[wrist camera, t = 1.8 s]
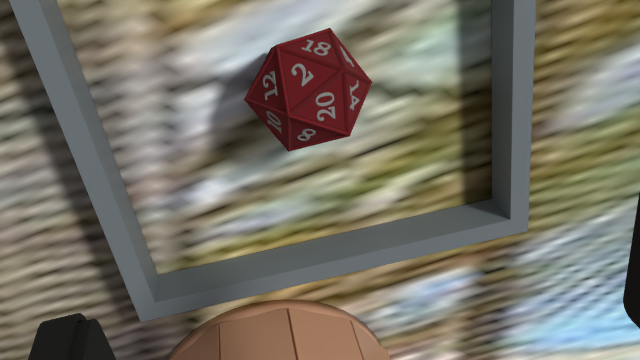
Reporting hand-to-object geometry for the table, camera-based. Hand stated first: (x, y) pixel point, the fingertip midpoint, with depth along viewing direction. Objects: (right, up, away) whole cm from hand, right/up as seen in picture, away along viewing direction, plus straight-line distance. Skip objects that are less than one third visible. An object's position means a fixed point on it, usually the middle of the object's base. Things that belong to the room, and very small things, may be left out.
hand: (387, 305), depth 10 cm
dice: (-2, +6, +12) cm, 14 cm away
